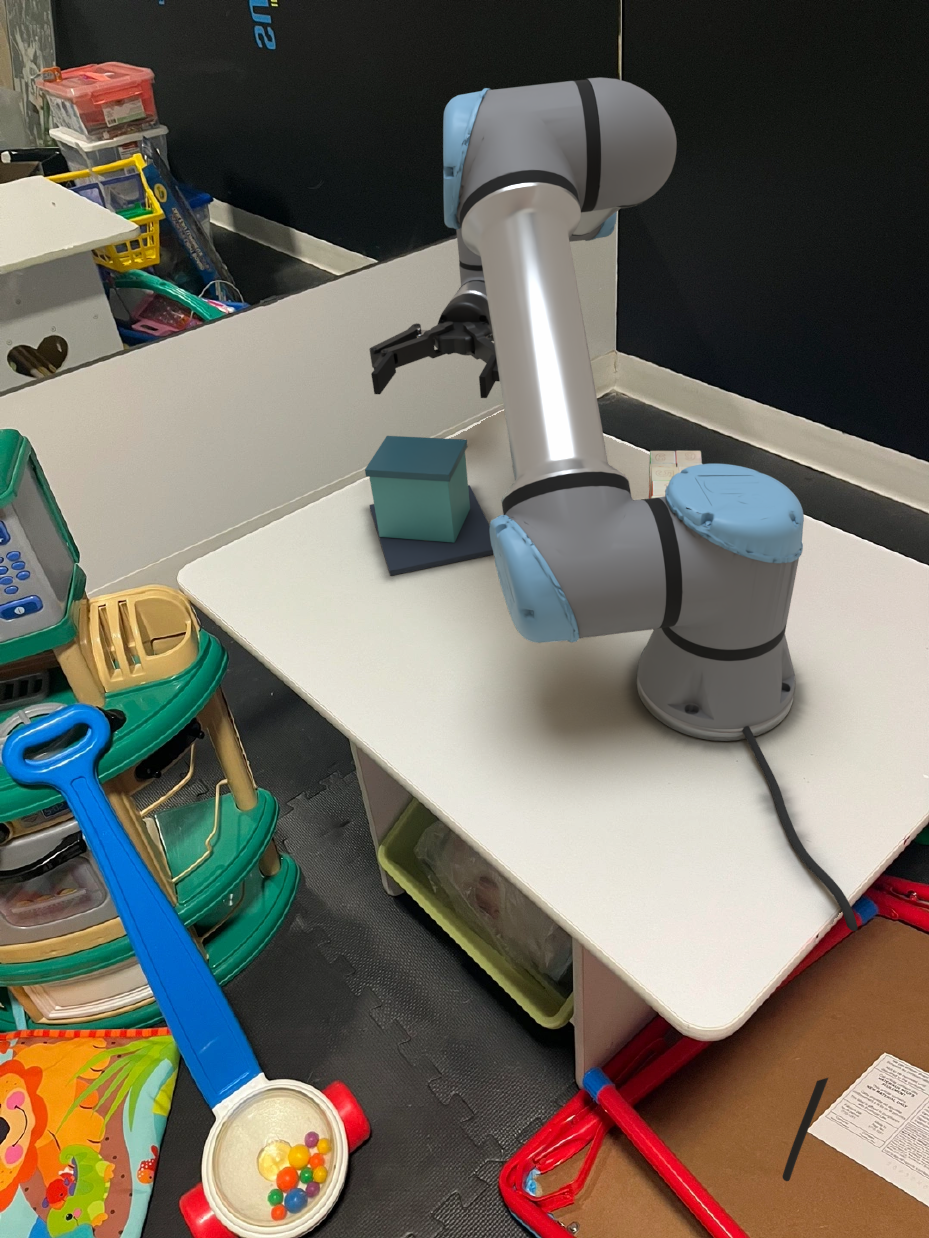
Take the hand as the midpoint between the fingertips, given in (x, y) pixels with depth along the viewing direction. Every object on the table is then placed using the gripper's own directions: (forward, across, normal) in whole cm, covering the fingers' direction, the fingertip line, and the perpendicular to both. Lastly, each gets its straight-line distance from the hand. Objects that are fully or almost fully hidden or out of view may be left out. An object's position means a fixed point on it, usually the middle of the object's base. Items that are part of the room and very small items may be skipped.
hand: (428, 386), depth 111 cm
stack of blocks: (+8, -31, -18) cm, 36 cm away
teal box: (+4, +1, -17) cm, 18 cm away
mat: (+5, 0, -18) cm, 18 cm away
